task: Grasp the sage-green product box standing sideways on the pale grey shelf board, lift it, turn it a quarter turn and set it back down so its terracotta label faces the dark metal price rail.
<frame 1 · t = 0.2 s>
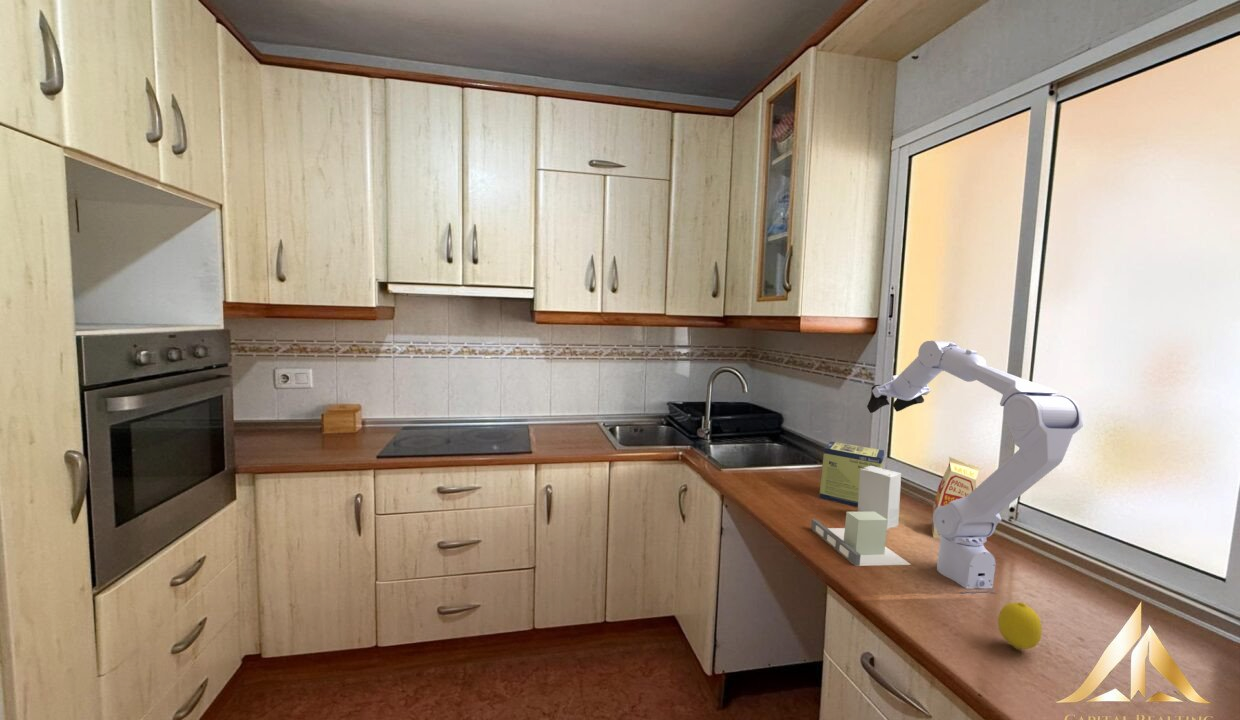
hand: (882, 408, 127), 31 cm above the counter, tool tilted 45°, fingers open, 7 cm apart
protein box: (849, 500, 147), on the counter
shelf board: (856, 550, 114), on the counter
product box: (856, 544, 114), point 1 cm above the counter, touching shelf board
skincare box: (875, 526, 129), on the counter
lemon: (1016, 649, 81), on the counter
milk carton: (952, 535, 125), on the counter
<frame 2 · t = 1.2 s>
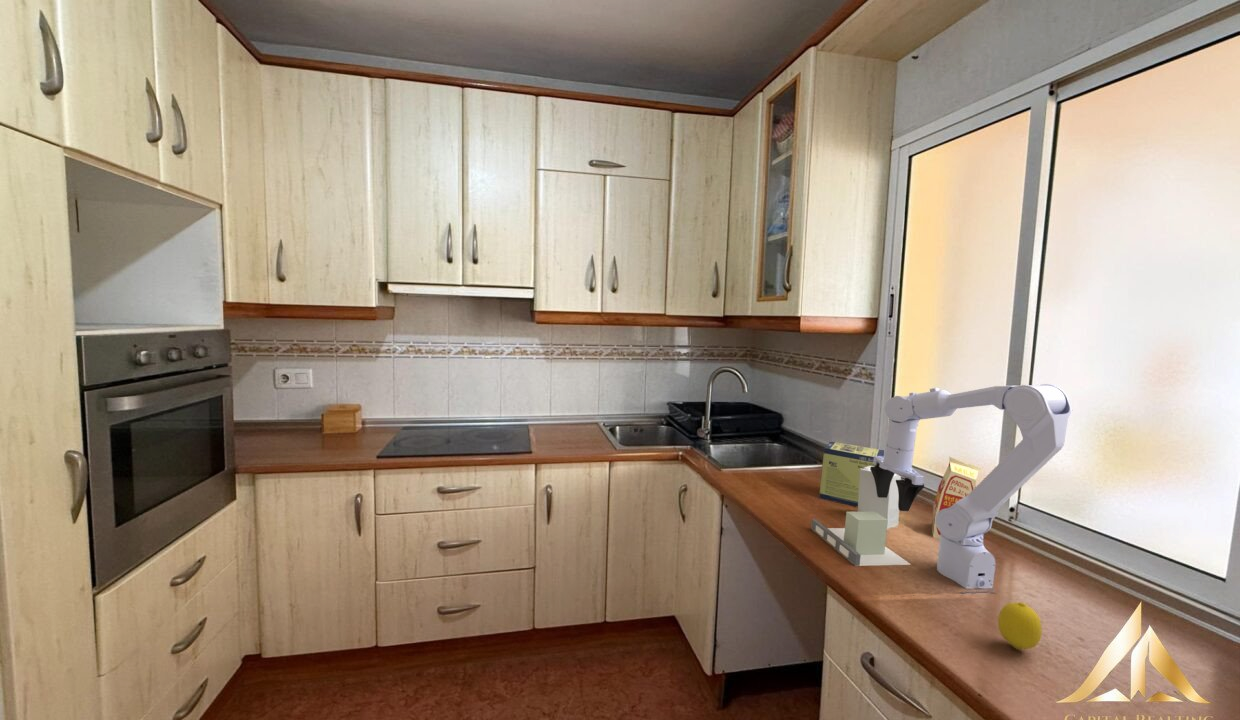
hand: (892, 503, 116), 11 cm above the counter, tool pointing down, fingers open, 7 cm apart
nothing on the counter moved.
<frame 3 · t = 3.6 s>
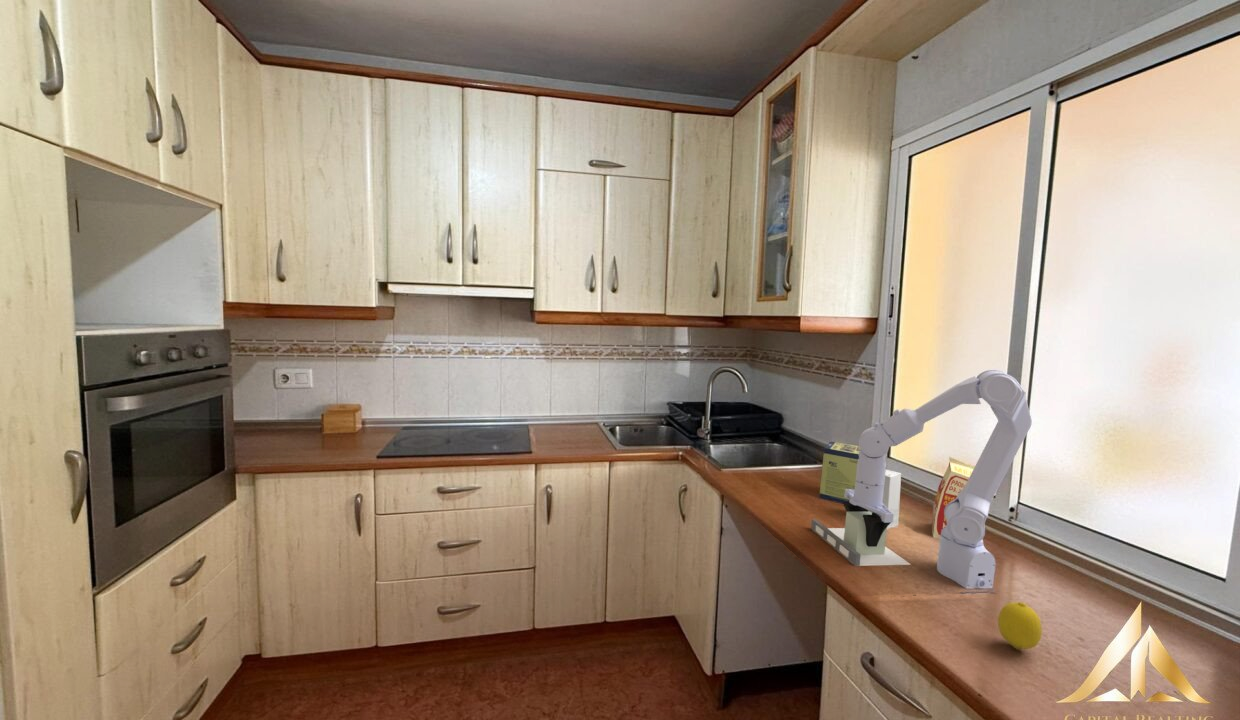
hand: (863, 540, 112), 3 cm above the counter, tool pointing down, fingers closed on product box, 5 cm apart
product box: (856, 544, 114), point 1 cm above the counter, touching gripper, shelf board
everything else where it was.
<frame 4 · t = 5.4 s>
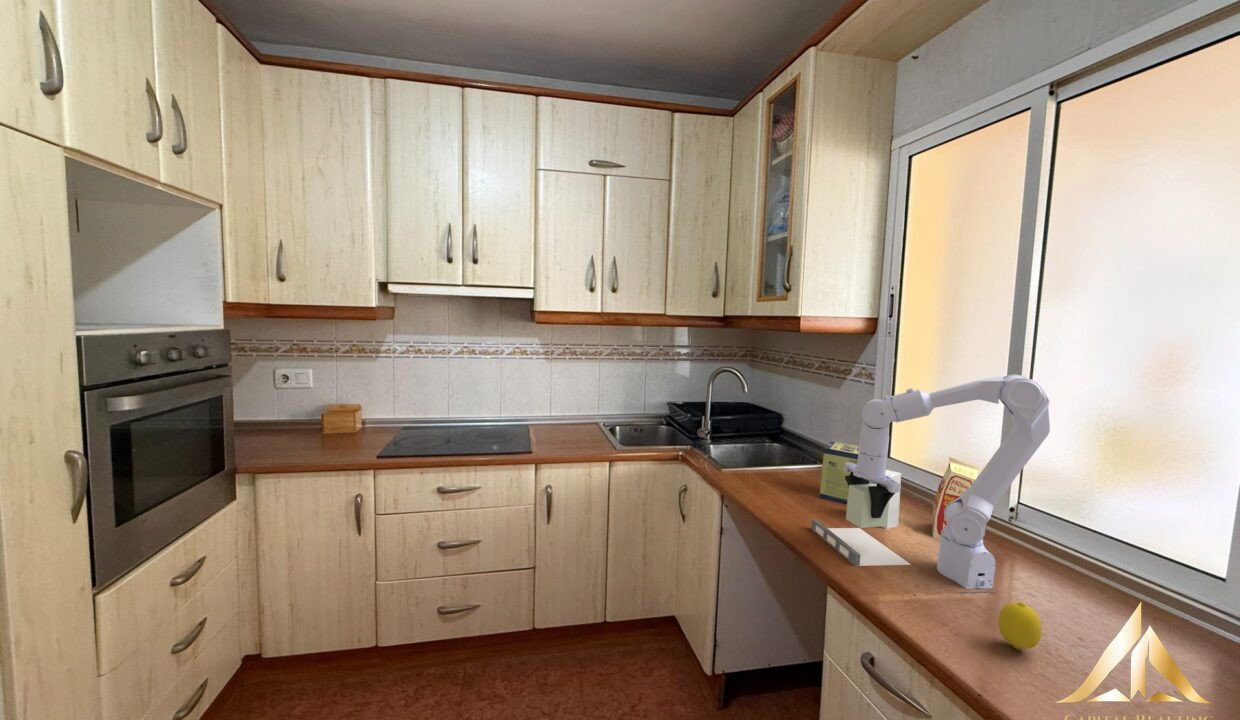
hand: (866, 512, 111), 10 cm above the counter, tool pointing down, fingers closed on product box, 5 cm apart
product box: (857, 517, 114), point 8 cm above the counter, touching gripper
everything else where it was.
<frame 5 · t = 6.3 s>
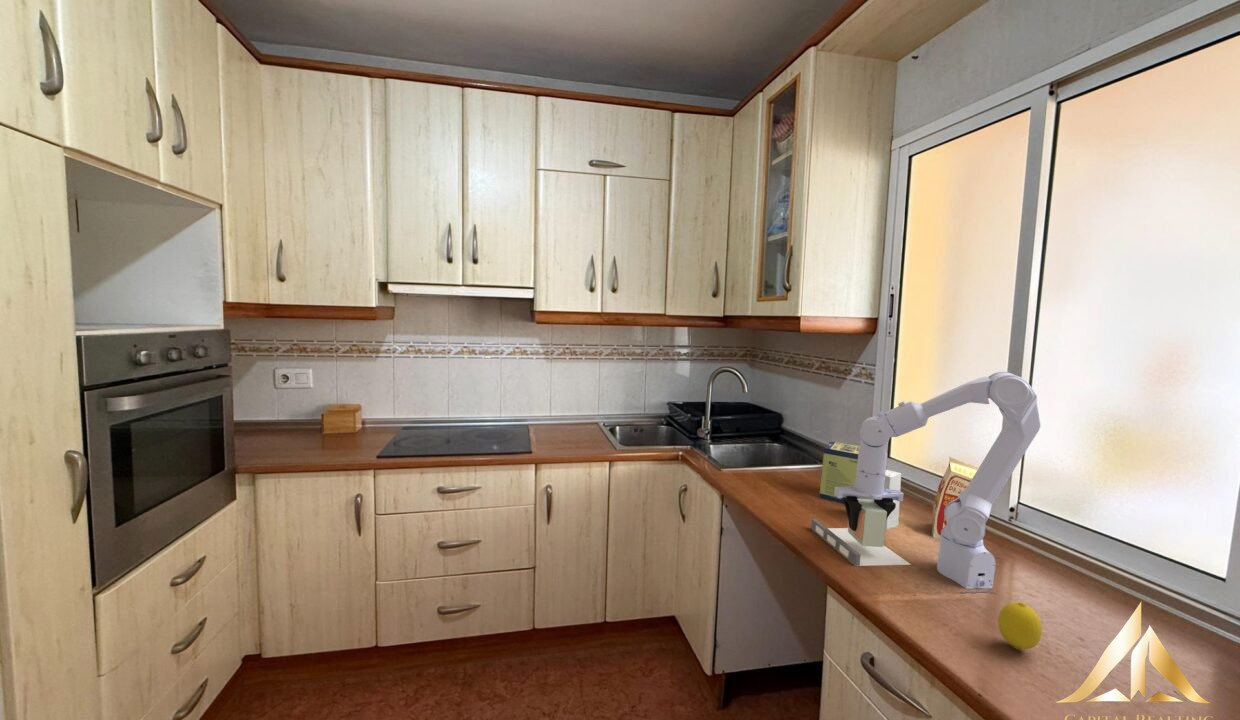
hand: (864, 529, 111), 6 cm above the counter, tool pointing down, fingers closed on product box, 5 cm apart
product box: (853, 538, 112), point 4 cm above the counter, touching gripper
everything else where it was.
when the fingers open (5 cm above the counter, at t = 7.1 s): product box drops 1 cm, resting on shelf board.
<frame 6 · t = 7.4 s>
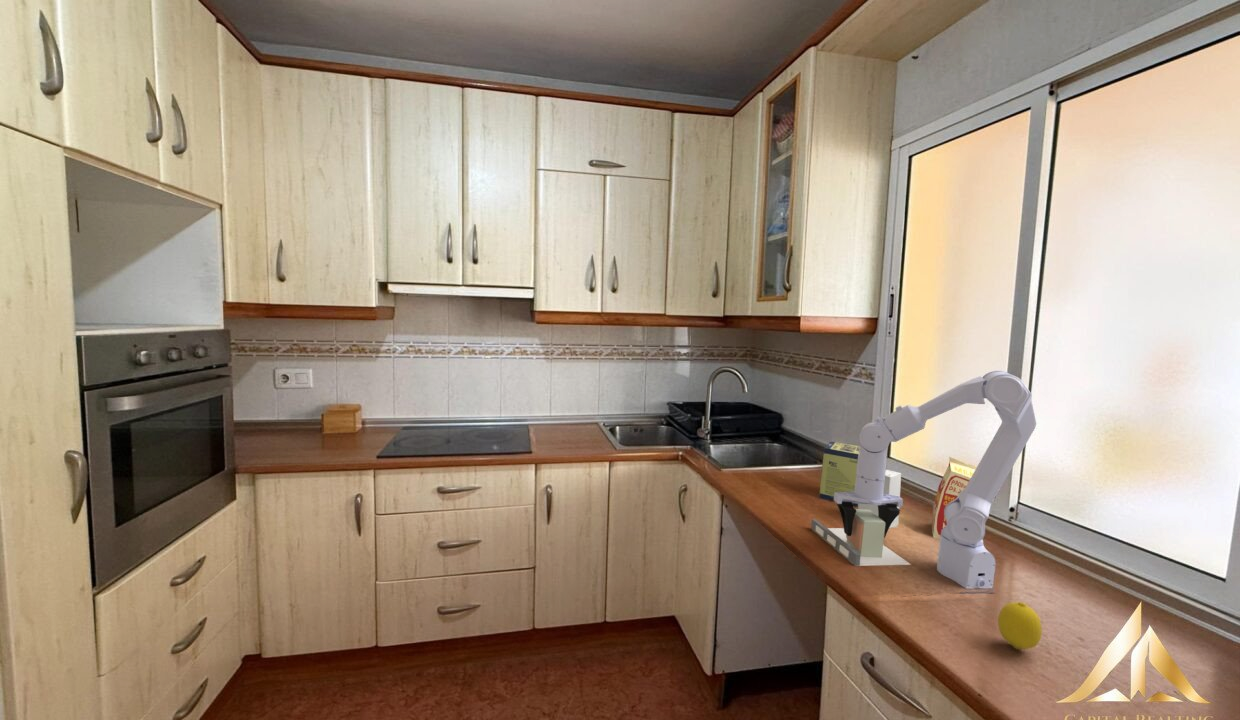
hand: (864, 534, 111), 5 cm above the counter, tool pointing down, fingers open, 7 cm apart
product box: (851, 548, 112), point 1 cm above the counter, touching shelf board
everything else where it was.
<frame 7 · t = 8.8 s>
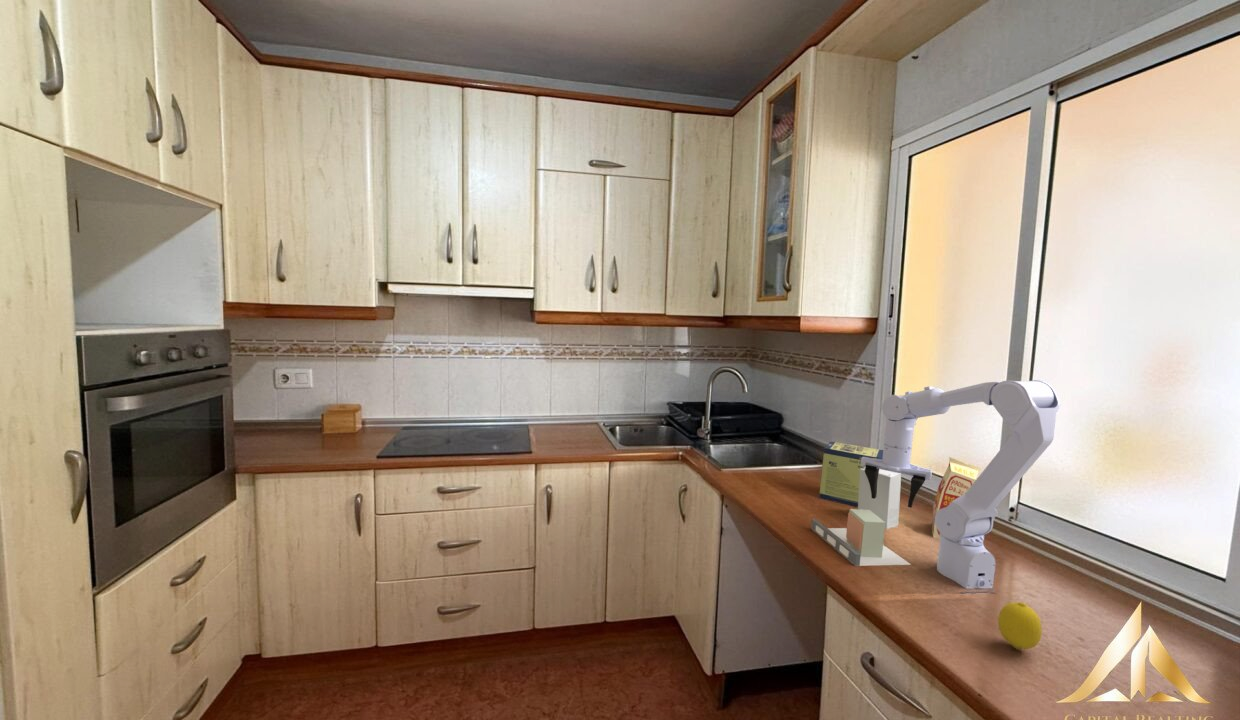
hand: (891, 501, 117), 10 cm above the counter, tool pointing down, fingers open, 7 cm apart
nothing on the counter moved.
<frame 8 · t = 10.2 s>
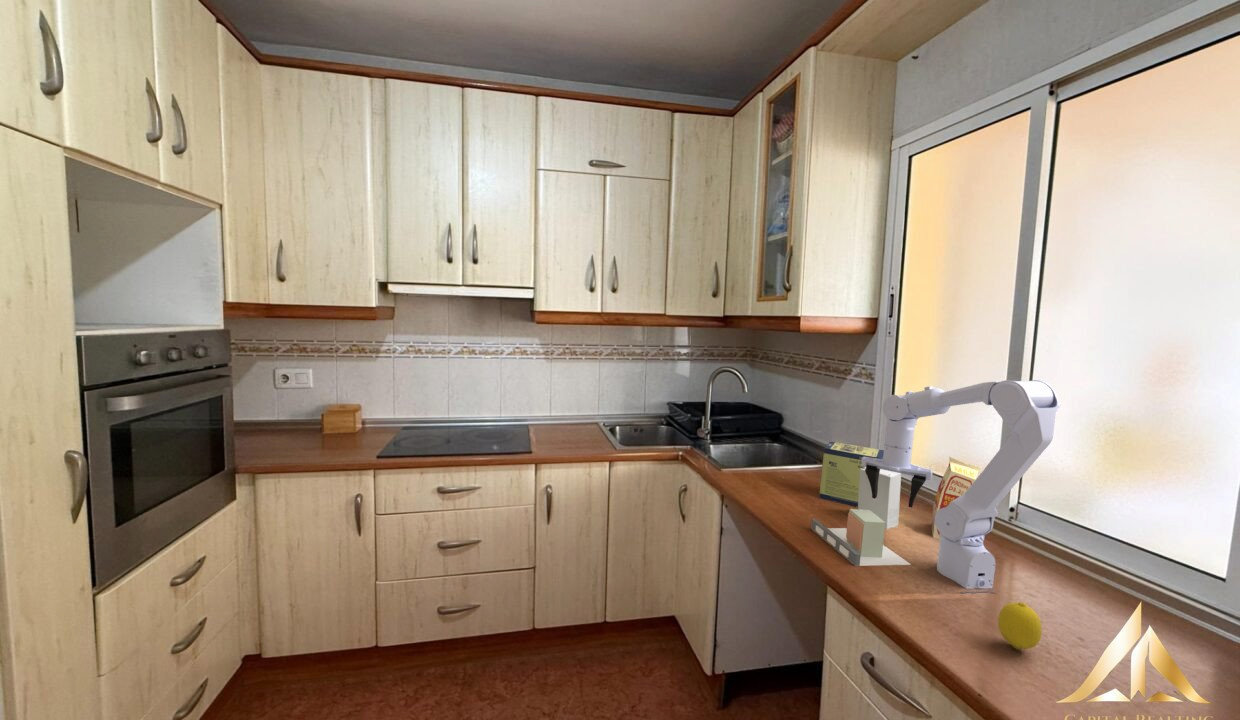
hand: (892, 501, 117), 10 cm above the counter, tool pointing down, fingers open, 7 cm apart
nothing on the counter moved.
at the end: product box 0.5 cm from the target spot, point 1.2 cm above the counter; product box tilted 0°; the gripper is holding nothing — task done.
